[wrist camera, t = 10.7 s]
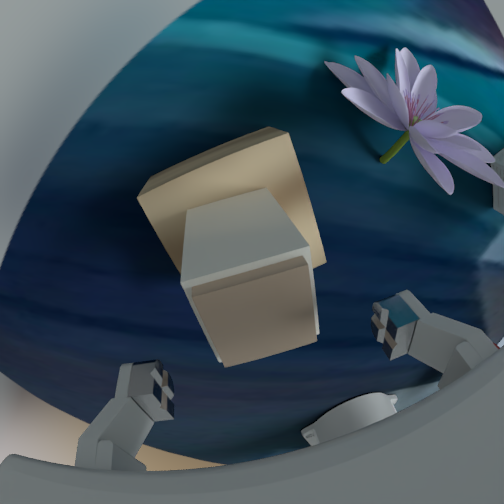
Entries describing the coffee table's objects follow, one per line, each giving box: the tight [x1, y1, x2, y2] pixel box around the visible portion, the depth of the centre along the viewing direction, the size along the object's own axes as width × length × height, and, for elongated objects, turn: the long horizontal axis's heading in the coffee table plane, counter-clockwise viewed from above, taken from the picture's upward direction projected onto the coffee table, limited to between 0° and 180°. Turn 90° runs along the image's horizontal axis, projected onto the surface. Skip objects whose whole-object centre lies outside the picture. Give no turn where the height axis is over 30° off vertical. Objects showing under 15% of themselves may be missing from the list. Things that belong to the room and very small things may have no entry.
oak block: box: [137, 127, 326, 274], centre depth 19 cm, size 9×9×5 cm
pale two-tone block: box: [181, 188, 319, 367], centre depth 14 cm, size 5×5×8 cm
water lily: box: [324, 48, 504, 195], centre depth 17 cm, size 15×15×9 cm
